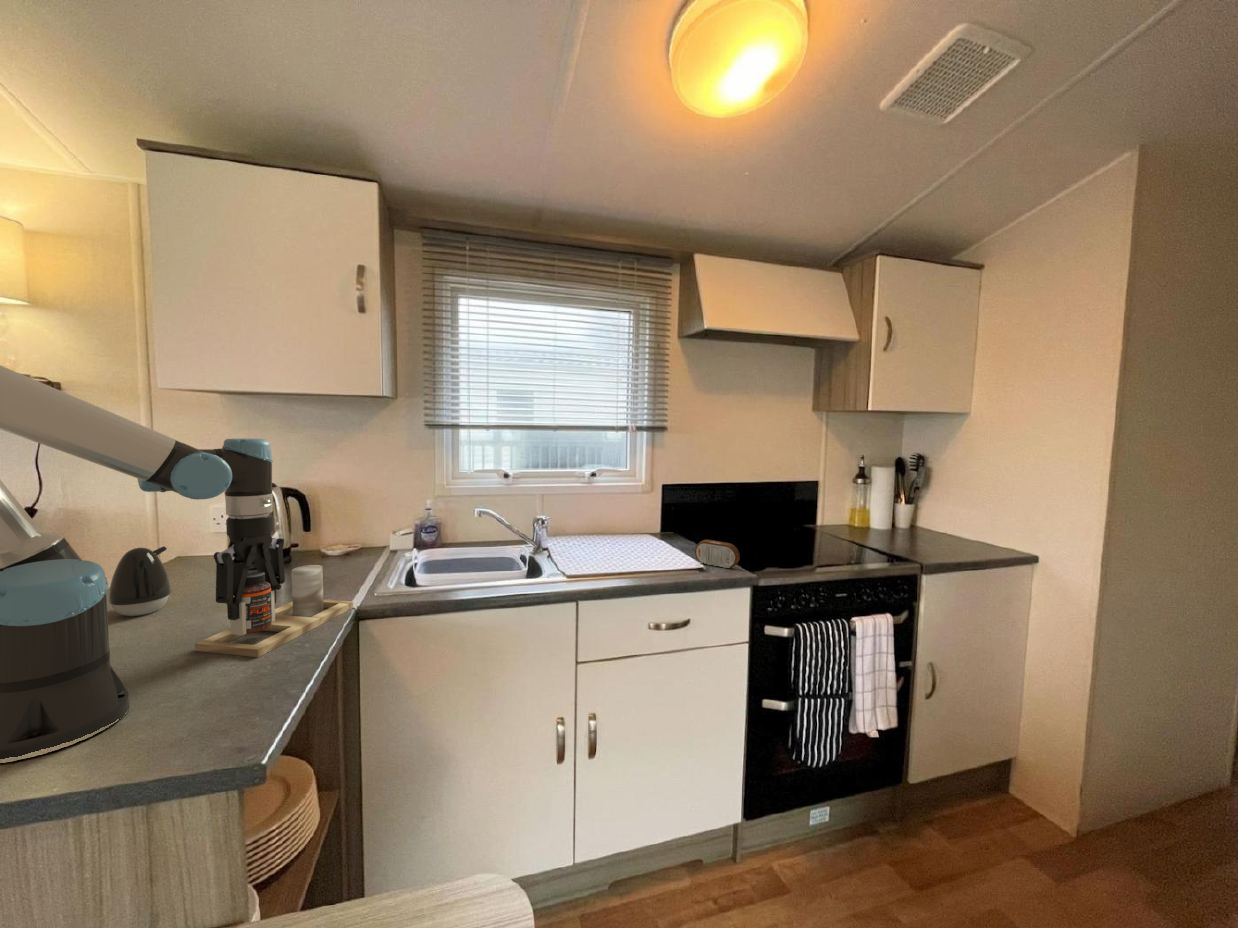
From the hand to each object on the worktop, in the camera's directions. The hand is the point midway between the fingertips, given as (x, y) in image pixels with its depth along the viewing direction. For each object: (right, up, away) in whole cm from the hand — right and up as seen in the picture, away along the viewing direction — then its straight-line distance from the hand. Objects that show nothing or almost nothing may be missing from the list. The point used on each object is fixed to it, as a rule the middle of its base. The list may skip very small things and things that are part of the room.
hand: (253, 626), depth 98 cm
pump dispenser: (-36, -1, +14) cm, 39 cm away
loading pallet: (+1, -2, +7) cm, 8 cm away
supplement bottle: (0, 0, 0) cm, 0 cm away
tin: (+107, -1, +62) cm, 124 cm away
